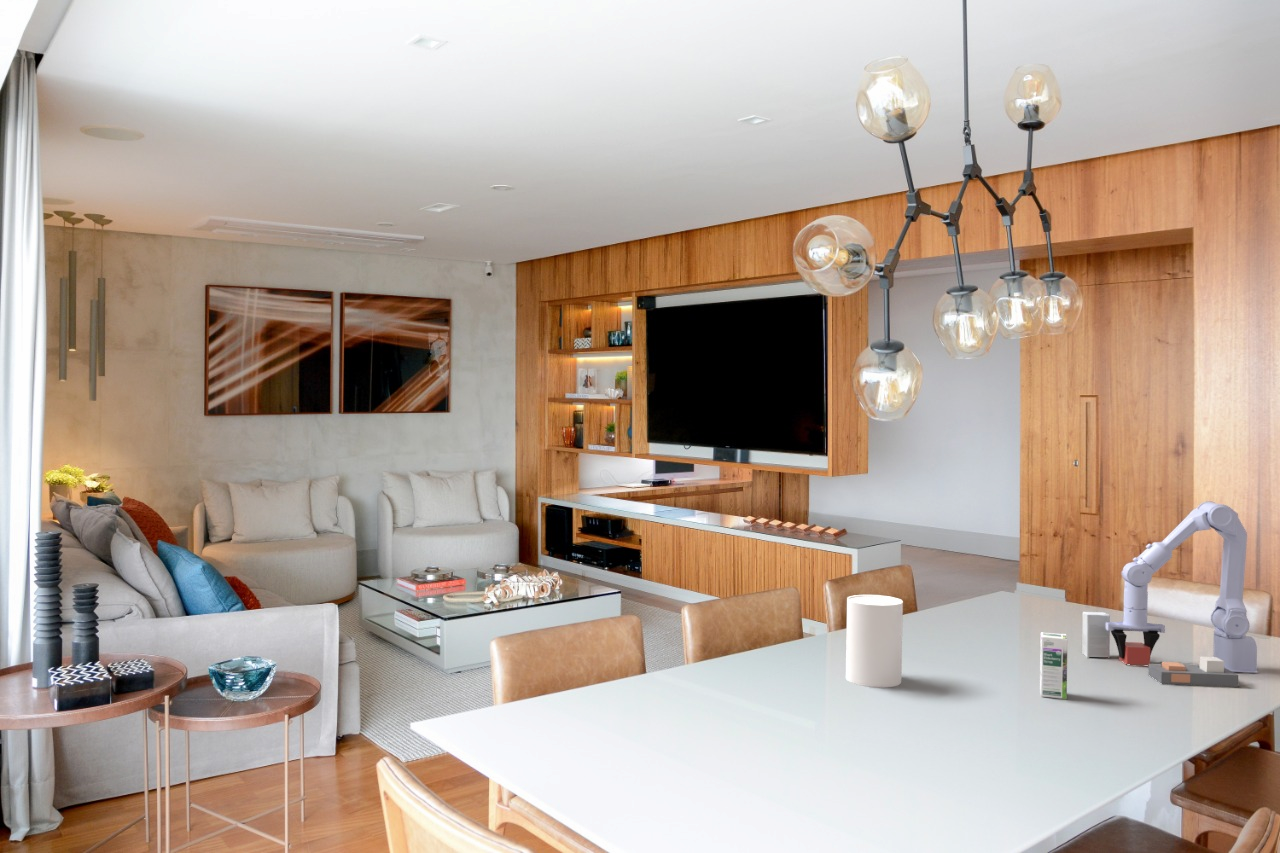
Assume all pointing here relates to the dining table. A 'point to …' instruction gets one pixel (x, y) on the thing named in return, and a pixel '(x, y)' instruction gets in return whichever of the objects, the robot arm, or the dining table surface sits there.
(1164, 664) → the block
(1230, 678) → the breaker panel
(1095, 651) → the skincare box
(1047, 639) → the syrup box
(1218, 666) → the block
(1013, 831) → the dining table surface
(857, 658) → the canister
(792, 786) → the dining table surface
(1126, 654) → the cap
